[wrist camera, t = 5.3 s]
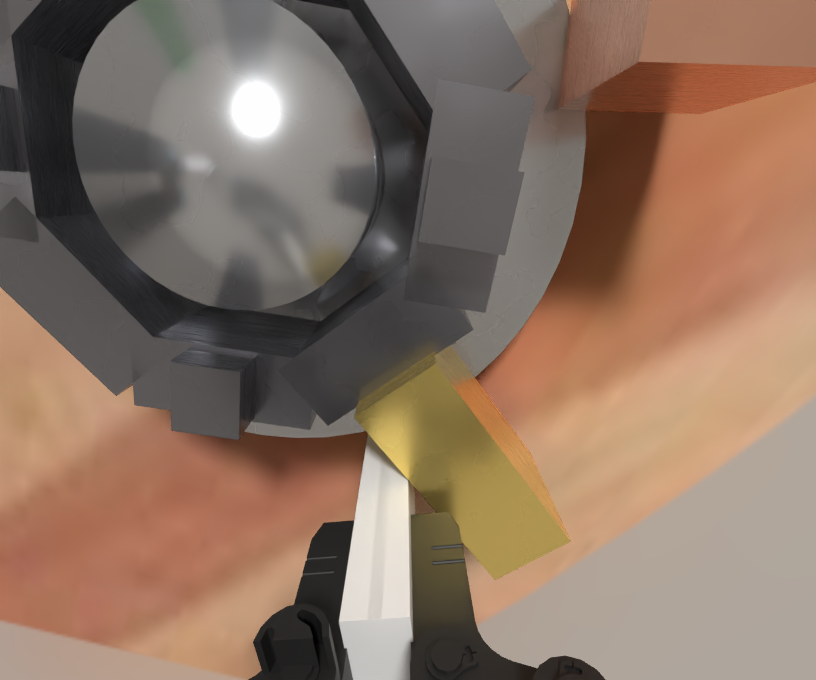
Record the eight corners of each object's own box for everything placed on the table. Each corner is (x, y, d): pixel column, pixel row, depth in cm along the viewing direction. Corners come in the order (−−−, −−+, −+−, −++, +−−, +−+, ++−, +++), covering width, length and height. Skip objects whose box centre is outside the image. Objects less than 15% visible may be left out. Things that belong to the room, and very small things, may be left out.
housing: (80, 410, 17) (-87, 519, 11) (-85, -213, 11) (-635, -665, 5) (604, 426, 17) (700, 543, 11) (735, -187, 11) (1093, -610, 5)
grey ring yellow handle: (-43, 120, 12) (-281, 81, 8) (292, -256, 9) (199, -611, 5) (369, 545, 16) (355, 657, 12) (659, 380, 14) (757, 454, 10)
